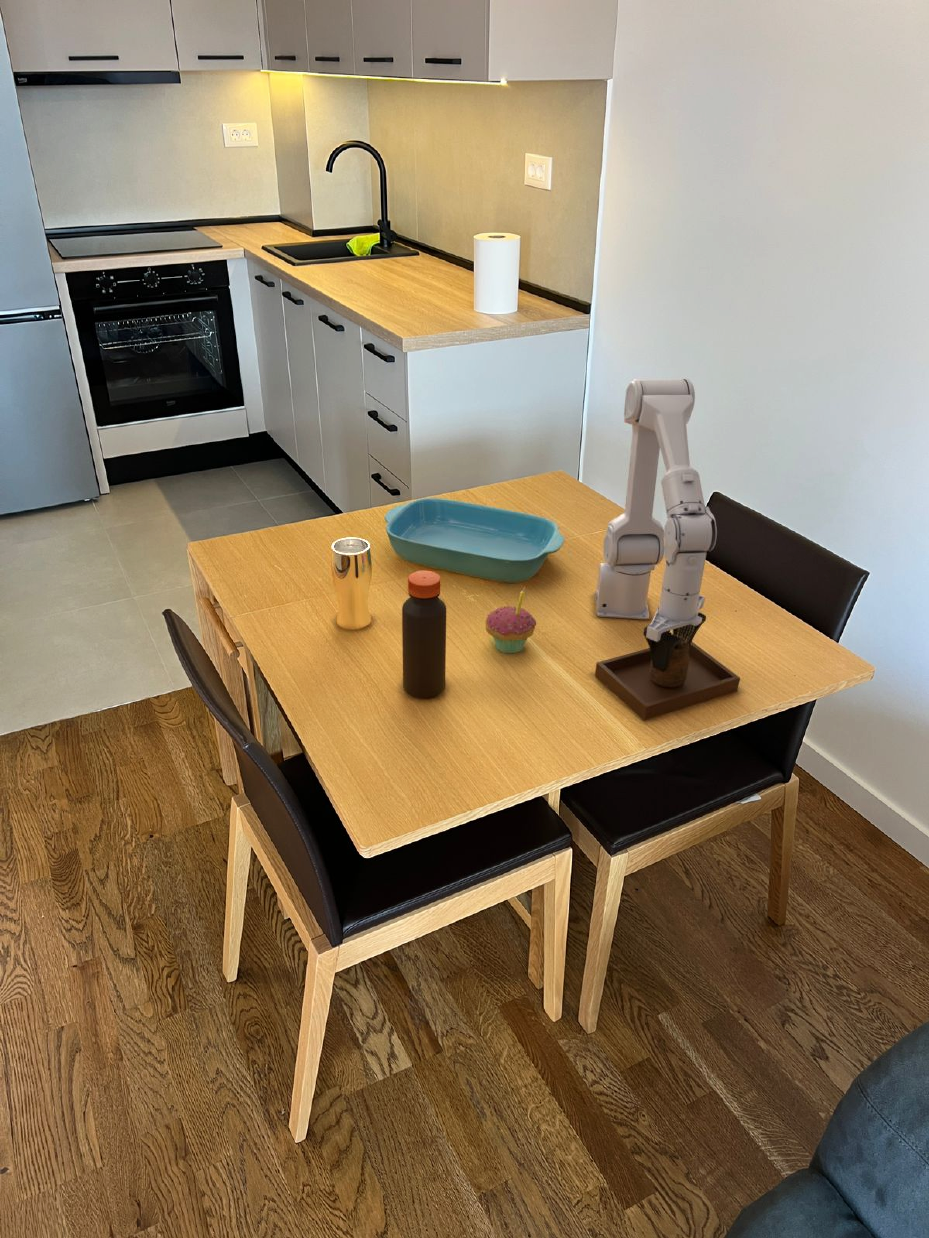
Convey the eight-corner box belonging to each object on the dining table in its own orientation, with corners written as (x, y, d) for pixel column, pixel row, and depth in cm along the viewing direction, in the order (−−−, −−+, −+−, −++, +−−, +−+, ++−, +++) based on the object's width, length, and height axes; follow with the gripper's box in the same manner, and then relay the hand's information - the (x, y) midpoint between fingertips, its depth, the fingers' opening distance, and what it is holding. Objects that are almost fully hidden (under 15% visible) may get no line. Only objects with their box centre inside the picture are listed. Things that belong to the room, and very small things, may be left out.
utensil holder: (691, 686, 151) (703, 622, 145) (655, 690, 150) (665, 626, 144) (677, 666, 156) (687, 604, 150) (641, 670, 155) (650, 607, 149)
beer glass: (380, 616, 169) (378, 542, 162) (360, 635, 164) (357, 558, 156) (347, 608, 172) (343, 533, 164) (326, 625, 166) (322, 549, 159)
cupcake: (539, 639, 164) (544, 578, 158) (526, 664, 157) (530, 602, 151) (492, 629, 167) (495, 570, 160) (477, 654, 160) (479, 592, 153)
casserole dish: (573, 550, 195) (576, 518, 191) (544, 599, 177) (547, 565, 173) (409, 520, 205) (409, 490, 201) (366, 564, 187) (365, 532, 183)
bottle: (417, 671, 155) (417, 563, 144) (453, 683, 152) (455, 574, 142) (394, 691, 150) (392, 581, 139) (430, 704, 147) (431, 593, 136)
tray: (644, 720, 145) (646, 707, 143) (594, 675, 155) (596, 662, 154) (737, 691, 152) (740, 677, 151) (684, 650, 162) (686, 637, 161)
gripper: (680, 613, 137) (667, 689, 144) (727, 579, 147) (713, 652, 154) (639, 596, 141) (628, 671, 148) (687, 564, 151) (675, 636, 158)
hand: (669, 660), depth 151 cm, fingers closed on utensil holder, 6 cm apart
